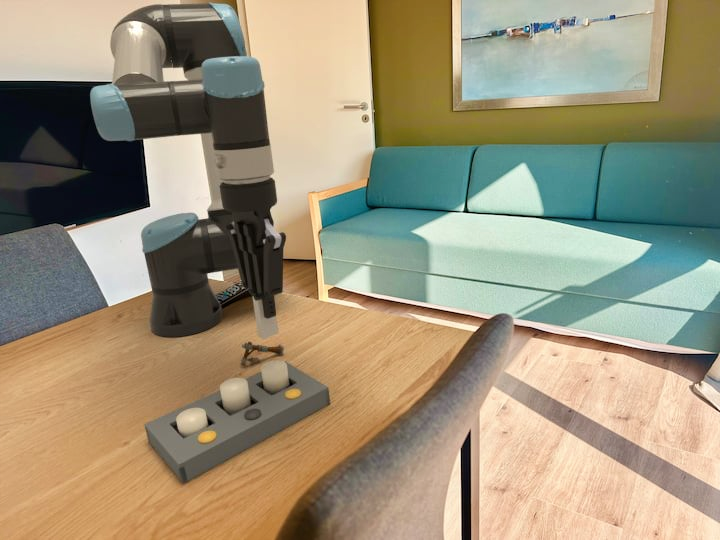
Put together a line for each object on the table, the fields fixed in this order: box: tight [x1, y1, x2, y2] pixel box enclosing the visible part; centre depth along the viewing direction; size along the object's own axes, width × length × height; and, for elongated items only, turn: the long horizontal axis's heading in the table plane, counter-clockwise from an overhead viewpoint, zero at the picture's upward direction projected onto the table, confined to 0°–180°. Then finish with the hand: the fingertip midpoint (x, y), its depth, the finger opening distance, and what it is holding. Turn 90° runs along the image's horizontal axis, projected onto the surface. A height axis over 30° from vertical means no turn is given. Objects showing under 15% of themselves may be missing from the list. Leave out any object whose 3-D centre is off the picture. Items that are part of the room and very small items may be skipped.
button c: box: [260, 359, 291, 396], centre depth 81 cm, size 4×4×4 cm
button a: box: [176, 408, 209, 439], centre depth 73 cm, size 4×4×4 cm
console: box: [144, 360, 331, 485], centre depth 77 cm, size 12×24×3 cm, turn 131°
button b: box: [219, 377, 252, 416], centre depth 77 cm, size 4×4×4 cm
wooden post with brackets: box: [240, 341, 285, 367], centre depth 95 cm, size 2×8×4 cm, turn 124°
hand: (268, 334), depth 78 cm, fingers closed
